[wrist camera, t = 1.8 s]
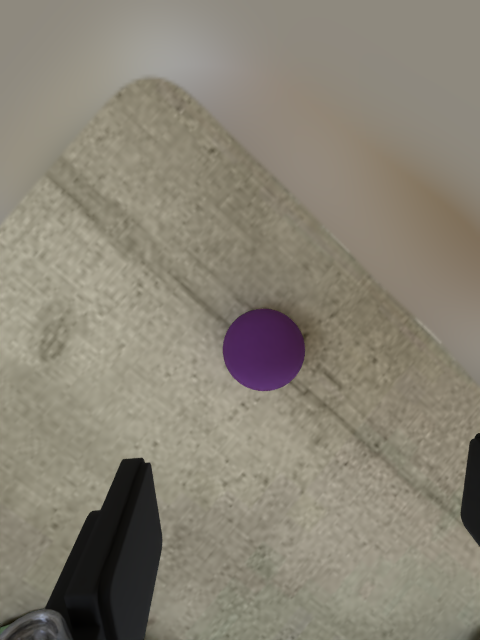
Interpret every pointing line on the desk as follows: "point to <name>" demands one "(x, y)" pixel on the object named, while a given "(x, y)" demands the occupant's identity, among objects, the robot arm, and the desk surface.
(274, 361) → the ball
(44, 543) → the desk surface
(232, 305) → the desk surface
